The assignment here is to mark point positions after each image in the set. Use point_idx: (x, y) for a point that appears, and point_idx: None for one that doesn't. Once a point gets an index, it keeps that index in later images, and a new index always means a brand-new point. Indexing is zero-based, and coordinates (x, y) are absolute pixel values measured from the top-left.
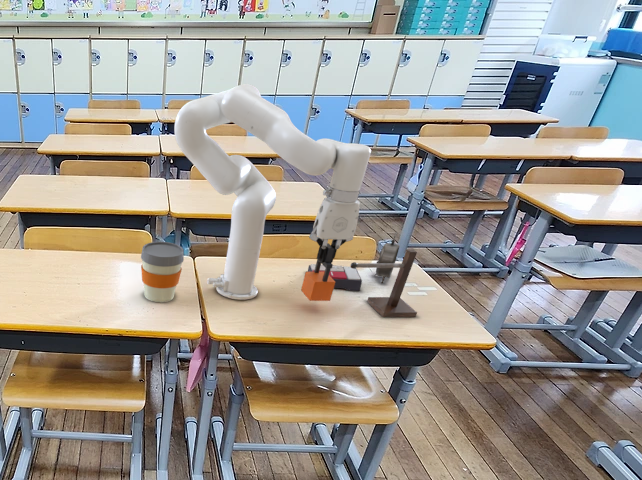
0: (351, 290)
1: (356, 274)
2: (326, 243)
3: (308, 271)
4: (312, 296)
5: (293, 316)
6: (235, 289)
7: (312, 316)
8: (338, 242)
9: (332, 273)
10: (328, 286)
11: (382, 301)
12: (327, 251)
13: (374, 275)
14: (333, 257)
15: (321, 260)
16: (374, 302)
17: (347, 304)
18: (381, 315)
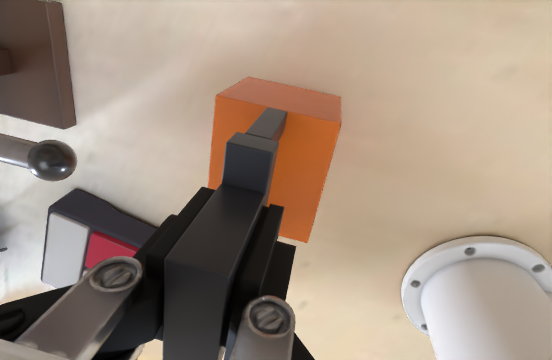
0: (97, 198)
1: (53, 243)
2: (242, 352)
3: None
4: (333, 99)
5: (398, 83)
6: (534, 283)
7: (322, 67)
8: (81, 321)
9: None
10: (257, 96)
11: (26, 88)
12: (239, 261)
13: (3, 249)
14: (187, 206)
15: (280, 223)
16: (56, 88)
17: (147, 122)
18: (61, 14)
